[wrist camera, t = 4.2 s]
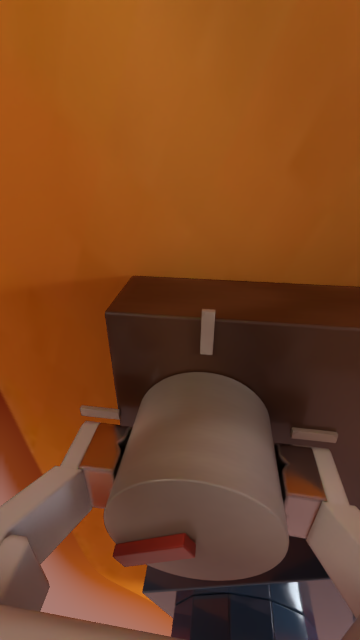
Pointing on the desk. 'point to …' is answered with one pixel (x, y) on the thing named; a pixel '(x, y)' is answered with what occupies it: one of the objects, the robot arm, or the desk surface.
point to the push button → (255, 602)
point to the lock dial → (199, 483)
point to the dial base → (248, 354)
